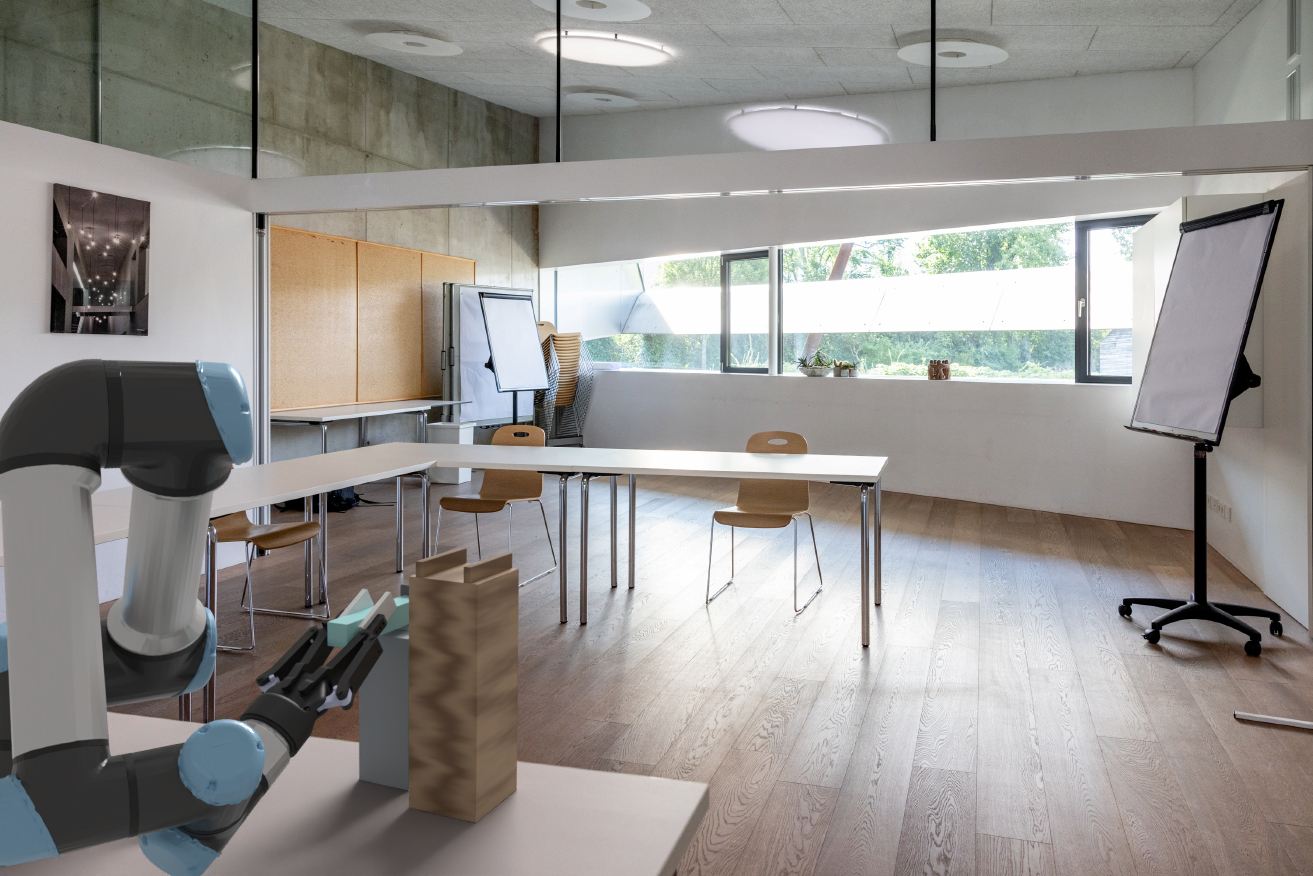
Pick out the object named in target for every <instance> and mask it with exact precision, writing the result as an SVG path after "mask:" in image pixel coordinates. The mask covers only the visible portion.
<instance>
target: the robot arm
mask: <svg viewBox="0 0 1313 876" xmlns="http://www.w3.org/2000/svg"><path fill="white" fill-rule="evenodd" d="M253 454H254V428H253V419H252V413H251V406H250V400H249V395H248V391H247V387H246V384H245V381H244V378H243V375H242V374H241V372H240V371H239V370H238V368H237V367H235V366H234V365H232V364H230V363H225V362H212V361H211V362H210V361H202V360H201V359H196V360H195V361H194V362H193V361H158V360H155V361H154V360H122V359H121V360H120V359H115V360H113V359H110V360H109V359H102V358H86V359H85V358H83V359H77V360H73V361H69V362H65V363H62V364H60V365H58V366H57V365H56V366H55V367H54V368H51V369H50V370H48V371H46V372H45V373H42V374H41V375H39V376H38V377H36V378H35V379H34V380H33V381H32V382H30V383H29V384H28V385H27V386H25V387H24V388H23V389H22V390H21V392H19V394H17V396H16V397H15V399H13V400H12V402H11V403H10V404H9V406H8V408H7V409H6V410H5V412H4V413H3V415H2V417H1V418H0V503H1V504H0V505H1V527H2V528H1V529H2V548H3V550H2V551H3V568H4V569H3V571H4V572H3V574H4V591H5V592H4V594H5V596H4V597H5V616H6V617H5V618H6V621H3V622H1V623H0V866H2V867H10V866H16V865H20V864H21V865H22V864H26V863H30V862H31V863H32V862H36V861H42V860H44V859H45V860H46V859H50V858H52V859H57V858H59V857H60V856H63V855H66V854H70V853H74V852H77V851H82V850H86V849H90V848H93V847H97V846H102V845H105V844H110V843H113V842H117V841H121V840H126V839H129V838H133V837H137V838H138V837H139V838H138V839H139V840H138V846H139V848H140V850H141V853H142V854H143V855H144V857H145V858H146V859H147V860H148V861H149V862H150V863H152V865H153V866H155V867H156V868H158V869H160V870H161V871H162V872H164V873H165V874H168V876H169V875H170V876H203V875H204V873H205V872H206V871H207V870H208V869H209V868H210V866H212V864H213V863H214V861H215V860H216V859H218V858H219V857H221V855H222V853H223V851H224V849H225V848H226V847H227V845H228V844H229V842H231V840H232V838H233V837H234V836H235V834H237V832H238V831H239V829H240V827H242V825H243V824H244V822H245V821H246V819H247V818H248V817H249V815H250V814H251V813H252V811H253V810H254V809H255V807H256V806H257V805H258V803H259V802H260V801H261V799H263V797H264V796H265V794H266V793H267V792H268V791H269V790H270V789H271V787H272V785H274V783H276V781H277V780H278V778H279V777H280V776H281V774H282V773H283V771H284V770H285V769H286V768H287V766H288V765H289V764H290V761H291V759H292V758H294V757H295V756H296V755H297V754H298V753H299V752H300V750H301V749H302V747H303V746H304V745H305V743H307V741H308V739H309V738H310V737H311V736H312V734H313V730H314V727H315V723H316V721H317V720H318V719H319V718H321V717H322V716H324V715H325V714H326V713H327V712H328V711H329V709H331V708H336V707H341V708H342V710H343V711H348V710H351V709H352V707H353V705H354V702H355V698H356V697H355V696H356V694H357V693H358V692H359V688H360V686H361V685H362V683H363V682H364V680H365V679H366V677H367V676H368V674H369V673H370V671H371V670H372V668H373V666H374V665H375V663H376V662H377V660H378V659H379V657H380V656H381V654H382V653H383V648H382V646H381V644H380V641H379V639H378V636H379V635H380V634H381V632H382V631H383V630H384V628H385V627H386V626H387V623H388V622H387V620H388V619H389V617H390V616H391V615H392V613H393V612H394V611H395V610H396V608H397V606H396V603H395V601H394V599H395V598H394V597H393V594H392V592H391V591H385V592H384V593H383V595H382V596H381V597H380V598H379V600H377V601H376V603H375V604H374V602H373V599H372V597H371V594H370V593H369V590H368V588H362V589H361V590H360V591H359V592H358V593H357V595H355V597H353V600H351V602H349V604H348V606H347V607H346V608H345V609H342V610H341V611H339V613H338V614H337V615H336V616H335V617H334V618H333V620H334V619H337V618H340V617H343V616H346V615H349V614H352V613H355V612H357V611H360V610H363V609H366V608H369V607H372V606H374V607H373V608H372V609H371V611H370V612H369V613H368V614H367V616H366V617H365V618H364V619H363V621H362V622H361V623H360V624H359V626H358V629H359V631H360V632H359V633H358V634H357V635H356V636H355V637H354V638H353V639H352V640H351V641H350V642H349V643H348V644H347V645H346V646H345V647H344V648H341V649H340V651H339V652H337V654H335V656H334V657H333V658H331V660H330V661H329V662H328V663H326V664H325V662H326V661H327V660H328V658H329V656H330V655H331V653H332V651H334V648H335V647H333V646H328V630H327V622H329V621H330V619H324V620H323V621H321V622H320V624H321V626H322V628H321V627H320V628H318V626H316V625H314V626H311V627H310V628H308V630H306V631H305V633H304V634H302V636H301V637H300V638H298V639H297V641H296V642H295V643H294V644H293V645H292V646H291V647H290V648H289V649H287V651H286V652H285V653H284V654H283V655H282V656H281V657H280V658H279V659H278V660H277V661H276V662H275V663H274V664H273V665H272V667H270V668H268V669H267V670H266V671H264V672H263V673H261V674H260V675H258V676H257V677H256V678H255V683H256V684H257V686H258V688H259V689H260V691H261V693H262V694H260V695H258V696H257V697H256V698H255V699H254V700H253V702H252V703H251V704H250V705H249V706H248V707H247V708H246V709H245V711H244V712H243V713H242V714H241V715H240V717H239V720H236V719H227V718H223V719H216V720H212V721H210V722H207V723H205V724H204V725H203V726H200V727H198V729H196V730H195V731H193V733H192V734H191V735H190V736H189V737H188V738H187V739H186V740H185V741H184V742H179V743H174V744H169V745H164V746H161V747H160V746H159V747H155V748H154V747H153V748H151V749H144V750H139V751H134V752H128V753H127V752H126V753H121V754H116V755H111V749H110V737H109V724H108V721H109V720H108V710H107V709H108V708H111V707H115V706H117V707H118V706H124V705H129V704H135V703H143V702H149V701H155V700H162V699H168V698H171V699H172V698H177V697H180V696H182V695H186V694H189V693H193V692H197V691H200V690H201V689H203V688H204V687H205V686H206V685H207V684H208V682H209V681H210V680H211V678H212V675H213V672H214V671H215V670H214V669H215V665H216V662H217V661H216V660H217V652H216V650H217V648H218V632H217V625H216V621H215V620H216V619H215V617H214V614H213V612H212V611H211V609H210V608H208V607H206V606H204V605H203V603H202V601H200V599H199V598H198V596H199V595H198V594H199V589H200V583H201V577H202V575H201V574H202V570H203V561H204V555H205V550H206V543H207V536H208V530H209V524H210V517H211V512H212V510H211V509H212V504H213V499H214V498H213V497H214V492H216V491H217V490H219V489H220V488H221V487H223V486H224V485H225V484H226V483H227V481H228V480H229V478H230V475H231V473H232V466H233V465H234V464H235V466H240V465H242V464H243V463H244V464H246V463H248V462H250V461H251V459H252V458H253ZM102 469H105V470H106V469H107V470H108V469H120V473H121V474H122V476H123V478H124V479H125V480H126V482H128V483H129V485H131V486H132V487H131V490H132V491H131V499H130V509H129V510H130V511H129V522H128V532H127V533H128V534H127V542H126V543H127V545H126V555H125V556H126V557H125V566H124V567H125V568H124V576H123V577H124V578H123V590H122V596H121V597H119V598H118V599H117V600H116V601H115V602H114V603H113V604H112V606H111V607H110V609H109V611H108V614H107V617H101V614H100V613H101V611H100V599H99V587H98V584H99V583H98V571H97V559H96V557H97V556H96V544H95V543H96V542H95V531H94V530H95V529H94V515H93V503H92V502H93V501H92V495H94V493H95V492H96V491H97V490H98V489H100V488H101V485H102V483H103V482H102Z"/></svg>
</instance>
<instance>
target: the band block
mask: <svg viewBox="0 0 1313 876" xmlns="http://www.w3.org/2000/svg"><path fill="white" fill-rule="evenodd" d="M378 639H379V641H380V644H381V646H382V648H383V653H382V654H381V656H380V657H379V659H378V660H377V662H376V663H375V665H374V666H373V668H372V670H371V671H370V673H369V674H368V676H367V677H366V679H365V680H364V682H363V683H362V685H361V686H360V688H359V690H358V771H359V772H358V777H359V778H358V780H359V781H364V782H367V783H368V782H369V783H373V784H377V785H381V786H385V787H386V786H387V787H391V788H396V789H400V790H405V791H409V624H408V625H405V626H403V627H400V628H398V629H395V630H393V631H390V632H388V633H385V634H383V635H380V636H378Z"/></svg>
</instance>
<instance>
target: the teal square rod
mask: <svg viewBox="0 0 1313 876" xmlns="http://www.w3.org/2000/svg"><path fill="white" fill-rule="evenodd" d="M399 587H400V592H399V593H400V594H399V595H400V596H397V597H394V598H393V599H394V601H395V603H396V606H397V608H396V610H395V611H394V612H393V613H392V615H391V616H390V617H389V619H388V620H387V622H388V623H387V626H386V627H385V628H384V630H383V631H382V632H381V634H380V635H383V634H385V633H388V632H390V631H393V630H395V629H398V628H400V627H403V626H405V625H408V624H409V581H407V582H404V583H401V584H400V585H399ZM374 606H375V605H373V606H372V607H369V608H366V609H363V610H360V611H357V612H355V613H352V614H349V615H346V616H343V617H340V618H337V619H334V618H333V619H332V620H329V622H327V630H328V646H333V647H334V648H340V649H343V648H344V647H345V646H346V645H347V644H348V643H349V642H350V641H351V640H352V639H353V638H354V637H355V636H356V635H357V634H358V633H359V632H360V631H359V629H358V626H359V624H360V623H361V622H362V621H363V619H364V618H365V617H366V616H367V614H368V613H369V612H370V611H371V609H372V608H373V607H374ZM380 635H379V636H380Z"/></svg>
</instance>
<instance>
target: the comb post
mask: <svg viewBox="0 0 1313 876" xmlns="http://www.w3.org/2000/svg"><path fill="white" fill-rule="evenodd" d="M467 552H468V549H467V548H466V547H458V548H455V549H452V550H448V551H445V552H441V553H439V554H435V555H432V556H429V557H426V558H423V559H419V560H416V561H415V574H411V575H408V582H409V790H408V808H409V809H413V810H417V811H422V812H427V813H431V814H434V815H435V814H436V815H439V816H440V815H441V816H443V817H449V818H454V819H458V820H462V821H467V822H471V823H478V822H479V821H480V820H481V819H483V818H484V817H486V815H487V814H489V813H490V812H492V811H493V810H494V809H495V808H497V806H498V805H500V804H501V803H502V802H504V801H505V800H506V799H507V798H508V797H510V796H511V795H512V794H513V793H515V792H516V791H517V789H518V787H517V785H518V784H517V783H518V782H517V781H518V779H517V778H518V703H519V702H518V699H519V698H518V697H519V696H518V692H519V691H518V684H519V681H518V680H519V666H518V665H519V600H520V599H519V597H520V596H519V594H520V593H519V589H520V588H519V585H520V584H519V583H520V581H519V580H520V579H519V578H520V569H519V568H516V567H513V552H506V551H505V552H502V553H500V554H496V555H493V556H491V557H488V558H485V559H481V560H479V561H476V562H474V563H469V562H468V561H467V559H468V558H467V557H468V553H467Z"/></svg>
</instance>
